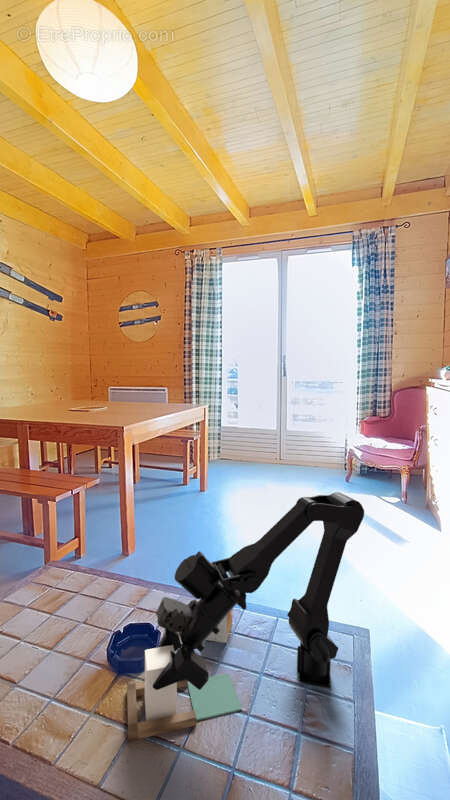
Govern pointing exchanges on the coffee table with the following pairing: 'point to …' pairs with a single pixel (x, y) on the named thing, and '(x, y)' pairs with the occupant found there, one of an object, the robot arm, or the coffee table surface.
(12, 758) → the coffee table surface
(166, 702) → the cream block
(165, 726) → the brown wooden frame
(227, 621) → the small box
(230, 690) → the green mat
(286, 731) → the coffee table surface
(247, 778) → the coffee table surface
